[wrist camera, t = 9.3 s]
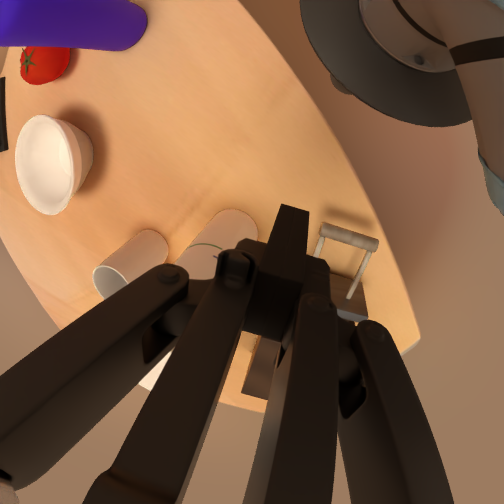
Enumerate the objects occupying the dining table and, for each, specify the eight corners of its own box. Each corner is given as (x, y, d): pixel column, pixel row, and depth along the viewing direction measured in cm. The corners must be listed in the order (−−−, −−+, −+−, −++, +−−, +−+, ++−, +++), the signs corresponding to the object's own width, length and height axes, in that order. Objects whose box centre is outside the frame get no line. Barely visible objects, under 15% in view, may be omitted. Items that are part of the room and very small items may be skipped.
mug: (128, 242, 46) (86, 280, 36) (148, 219, 43) (103, 256, 33) (169, 284, 49) (135, 330, 38) (192, 265, 46) (159, 312, 35)
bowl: (51, 105, 37) (15, 112, 29) (115, 112, 36) (77, 118, 28) (48, 186, 45) (17, 202, 37) (107, 207, 44) (74, 227, 36)
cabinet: (272, 294, 45) (261, 337, 37) (346, 315, 44) (349, 359, 36) (252, 352, 52) (240, 393, 44) (315, 369, 51) (312, 410, 43)
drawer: (305, 203, 36) (303, 226, 30) (386, 229, 35) (400, 257, 29) (265, 327, 47) (256, 362, 41) (329, 344, 47) (328, 380, 40)
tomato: (56, 30, 29) (22, 28, 22) (88, 39, 30) (51, 36, 23) (39, 75, 34) (5, 79, 27) (68, 90, 35) (31, 94, 28)
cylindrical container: (238, 263, 44) (171, 405, 22) (200, 233, 43) (103, 358, 21) (268, 231, 40) (212, 379, 19) (227, 198, 39) (126, 319, 18)
